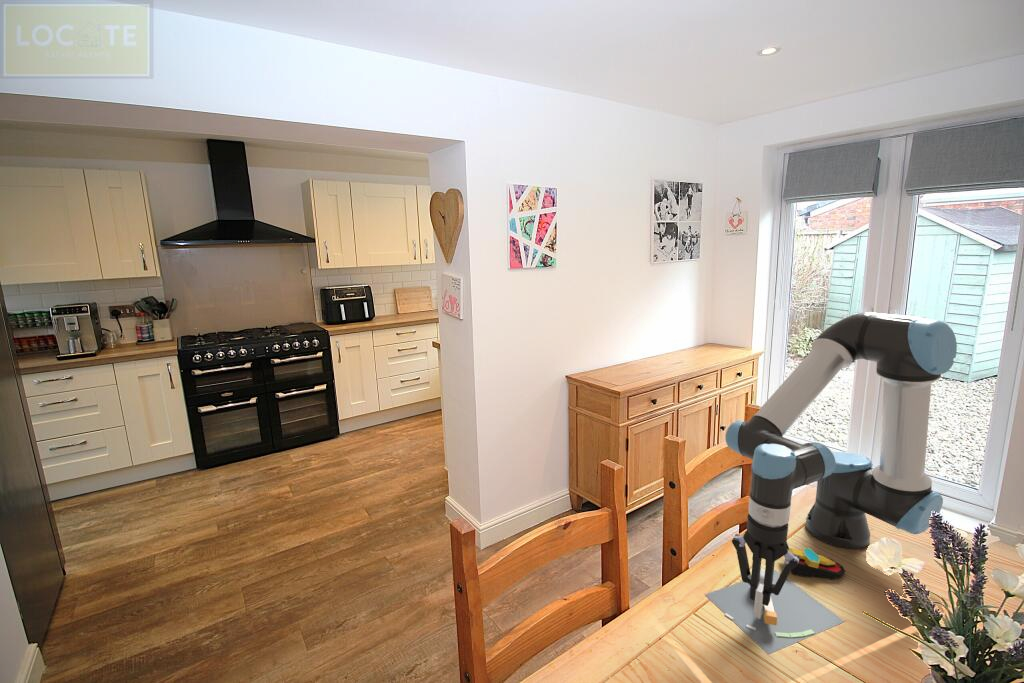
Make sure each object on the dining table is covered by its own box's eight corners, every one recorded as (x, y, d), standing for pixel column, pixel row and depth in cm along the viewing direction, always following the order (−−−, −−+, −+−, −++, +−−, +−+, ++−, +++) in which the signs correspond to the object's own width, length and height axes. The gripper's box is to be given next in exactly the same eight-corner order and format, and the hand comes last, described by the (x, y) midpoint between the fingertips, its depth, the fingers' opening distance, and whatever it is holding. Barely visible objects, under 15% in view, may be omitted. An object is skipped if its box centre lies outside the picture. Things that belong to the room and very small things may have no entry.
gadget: (844, 591, 117) (851, 572, 116) (784, 575, 120) (790, 556, 119) (834, 573, 123) (841, 555, 122) (778, 559, 126) (783, 541, 125)
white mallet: (749, 581, 118) (750, 566, 117) (769, 584, 116) (770, 570, 116) (758, 628, 104) (760, 612, 103) (781, 632, 103) (783, 616, 102)
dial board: (774, 574, 122) (775, 569, 122) (844, 626, 106) (845, 620, 105) (703, 599, 115) (703, 594, 114) (766, 659, 98) (766, 653, 98)
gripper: (729, 515, 102) (722, 610, 108) (799, 538, 94) (787, 639, 99) (740, 499, 108) (732, 590, 113) (807, 520, 100) (795, 617, 105)
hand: (758, 613), depth 106 cm, fingers closed
